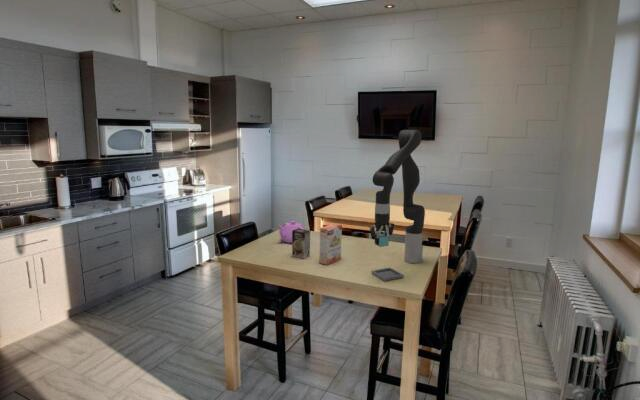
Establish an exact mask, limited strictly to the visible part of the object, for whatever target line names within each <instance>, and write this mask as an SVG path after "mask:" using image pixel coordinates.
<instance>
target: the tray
mask: <svg viewBox="0 0 640 400" xmlns="http://www.w3.org/2000/svg"><path fill="white" fill-rule="evenodd" d="M371 275H373V276H374V277H376V278H377V279H379V280H381V281H382V282H385V283H386V282H389V281H396V280H400V279H404V274H403V273H401V272H399V271H397V270H396V269H394V268H391V267H385V268H379V269H375V270H372V271H371Z"/></svg>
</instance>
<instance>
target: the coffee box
mask: <svg viewBox="0 0 640 400" xmlns="http://www.w3.org/2000/svg"><path fill="white" fill-rule="evenodd" d="M291 246H292V247H291V249H292V250H291V251H292V254H291V255H292V257H293V258H294V257H295V258H297V259H298V258H299V259H301V260H302V259H303V260H305V259H307V258H310V257H311V230H310V229H309V230H308V229H305V228H304V229H295V230H292V243H291Z"/></svg>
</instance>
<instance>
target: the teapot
mask: <svg viewBox="0 0 640 400" xmlns="http://www.w3.org/2000/svg"><path fill="white" fill-rule="evenodd" d="M277 226H278V227H279V236H280V238H281V240H282V242H284V243H287V244H288V243H289V244H292V230H295V229H304V230H305V228H304V227H303V224H301V223H300V222H296V220H290V222H284V223H283V225H280V224H277Z"/></svg>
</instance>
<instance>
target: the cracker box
mask: <svg viewBox="0 0 640 400" xmlns="http://www.w3.org/2000/svg"><path fill="white" fill-rule="evenodd" d="M342 231H343V225H342V224H339V223H332V224H331V223H330V224H328V225H325V226H322V227H319V258H318V259H319V261H318V262H319V264H322V265H325V266H329V265H330V264H332V263H335V262H338V261H339V260H341V259H342V236H343V234H342Z"/></svg>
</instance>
